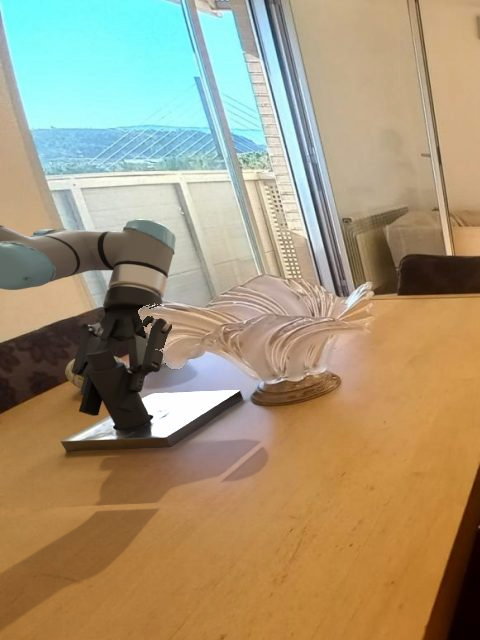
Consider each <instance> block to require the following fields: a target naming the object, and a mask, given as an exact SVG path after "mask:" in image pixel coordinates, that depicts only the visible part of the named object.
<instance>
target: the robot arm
mask: <svg viewBox="0 0 480 640" xmlns="http://www.w3.org/2000/svg"><path fill="white" fill-rule="evenodd" d="M175 247H176V234H174V232H173V231H172V230H171V229H170V228H169V227H168V226H166V225H164V224H162V223H160V222H157V221H154V220H150V219H144V218H136V219H133V220H129V221H127V222H126V223H125V225H124V226H123V228H122V231H118V230H117V231H116V230H112V231H111V230H110V231H109V230H107V231H105V230H104V231H103V230H101V231H100V230H82V229H80V230H79V229H67V228H55V229H52V228H51V229H47V228H46V229H38V230H35V231H33V232H32V235H30V236H28V235H24V234H22V233H20V232H17V231H16V230H13V229H11V228H8V227H6V226H4V225H3V224H2V225H1V224H0V289H1V290H7V291H19V290H25V289H30V288H31V289H32V288H37V287H38V288H39V287H41V286H45V285H46V284H49V283H52V282H54V281H58V280H61V279H65V278H69V277H73V276H76V275H80V274H83V273H86V272H90V271H91V272H92V271H112V272H111V275H110V279H109V281H108V284H107V288H108V289H107V290H106V293H105V297H104V300H103V304H102V307H103V310H104V314H103V316H102V317H100V319H99V322H97V323H94V324H91V325H90V324H88V323H82V324H81V325H80V327H79V329H80V334H81V335H80V336H81V337H80V340H79V344H78V347H77V350H76V354H75V356H74V357H75V358H74V359H75V361H74V364H73V368H72V373H73V374H76V375H79V376H82V377H84V381H83V384H82V388H80V392H79V393H80V395H81V396H82V398H81V402H80V406H79V410H78V412H79V413H83V414H86V415H89V416H93V417H94V416H95V417H97V416H99V414H100V412H101V411H100V410H101V406H102V403H103V401H102V399H101V397H100V395H99V393H98V391H97V390H96V388H95V386H94V384H93V382H92V380H91V378H90V376H89V374H88V372H87V371H88V370H90V369H91V368H92V366H91V364H90V362H89V360H88V358H87V356H86V353H88V352H90V351H94V350H98V349H104V348H109V349H111V352H112V354H113V356H115V357H116V354H117V353H118V351H119V349H120V348H121V347H123V346H124V345H125V343H126V341H127V344H128V345H127V347H128V366H129V368H126V369H127V370H128V371H131V372H132V373H129V372H126V373H123V377H122V381H121V385H120V389H119V393H118V397H117V401H116V405H115V408H116V409H120V410H123V411H126V412H133V410H134V405H135V401H136V397H137V392H138V393H141V392H142V391H143V388H144V383H145V379H146V376H148V375H149V374H150V373H158V372H160V370H161V368H162V364H161V363H162V359H163V353H162V352H161V351H159V350H160V349H162V348H164V345H165V342H166V339H167V337H168V334H169V332H170V331H171V329H172V324H171V323H169V322H168V321H166V320H164V319H162V318H159V319H154V318H153V316H151V317H150V316H147V317H146V318H145V319H144V320H143V323H142V320H141V319H140V316H139V314H138V310H139V309H140V308H142V307H143V306H146V305H149V304H150V305H149V306H152V305H154V303H155V304H156V305H155V306H153V307H150V308H149V309H151V308H154V307H157V306H161V305H160V304H162V305H163V298H164V295H165V292H166V287H167V282H168V278H169V273H170V268H171V266H172V265H171V264H172V262H173V257H174V255H175V253H176V252H175V249H176V248H175ZM157 304H158V305H157ZM146 307H148V306H146ZM149 323H152V324H151V326H152V328H151V330H150V334H149V338H148V334H147V333H145V331H144V327H143V326H145V327H147V325H148V324H149ZM155 349H158V350H155ZM162 351H163V350H162Z"/></svg>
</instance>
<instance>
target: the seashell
mask: <svg viewBox="0 0 480 640" xmlns="http://www.w3.org/2000/svg"><path fill="white" fill-rule="evenodd" d="M114 358H115V360H116V362H123V363H124V364H125V366H126V368H129V364H127V363H126V362H125V361H124V360H123V359H121V357H119V356H116V355H115V356H114ZM74 361H75V358H73V359H72V360H70V361H69V362H68V363H67V365H66V367H65V372H64V373H65V376H66V378H67V380H68V381H69V383H71V384H72V385H74V386H75V387H76V388H79V389H81V388H82V384H83V381H84V377H82V376H79V375H76V374H73V373H72V368H73V364H74ZM128 372H129V373H132V372H131V371H128Z"/></svg>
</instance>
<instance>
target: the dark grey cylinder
mask: <svg viewBox="0 0 480 640" xmlns="http://www.w3.org/2000/svg"><path fill="white" fill-rule="evenodd" d="M86 356H87V358H88V360H89V362H90V364H91V366H92V368H91V369H90V370H88V371H87V372H88V374H89V376H90V378H91V380H92V382H93V384H94V386H95V388H96V390H97V391H98V393H99V395H100V397H101V399H102V403H103V405H104V407H105V409H106V411H107V412H108V414H109V416H111V418H112V420H113V422H114V424H115V426H116V428H117V430H123V429H129V428H133V427H136V426H140V425H142V424H145V423H147V422H148V421H150V420H151V418H150V416H149V414H148V411H147V409H146V407H145V405H144V403H143V401H142V399H143V398H142V397H141V395H140V392H137V397H136V401H135V405H134V410H133V412H126V411H123V410H120V409H116V408H115V405H116V401H117V397H118V393H119V389H120V385H121V381H122V377H123V373H126V372H128V370H127V369H126V366H125V364H124V363H123V362H116V360H115V358H114V356H113V354H112V352H111V349H109V348H104V349H98V350H94V351H90V352H88V353H86Z"/></svg>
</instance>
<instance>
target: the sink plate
mask: <svg viewBox="0 0 480 640" xmlns="http://www.w3.org/2000/svg"><path fill="white" fill-rule="evenodd" d="M141 399H142V401H143V403H144V405H145V407H146V409H147V411H148V414H149V416H150V418H151V420H150V421H148V422H147V423H145V424H142V425H140V426H136V427H133V428H129V429H123V430H117V428H116V426H115V424H114V422H113V420H112V418H111V416H110V415H108V416H107V417H105V418H103V419H101V420H99V421H96V422H95V423H93V424H91V425H89V426H87V427H85V428H83V429H82V430H80V431H78V432H76V433H74V434H72V435H70V436H68V437H66V438H64V439H63V440H60V443H61V445H62V447H63V448H64V450H65V451H66V452H73V451H74V452H76V451H77V452H79V451H100V450H101V451H102V450H125V449H126V450H127V449H149V448H171V447H173V446H174V445H176V444H177V443H179V442H180V441H182V440H183V439H185V438H186V437H187V436H189V435H190V434H192V433H194V432H195V431H197V430H198V429H200V428H201V427H203V426H204V425H206V424H208V423H209V422H210V421H212V420H213V419H215V418H216V417H218V416H220V415H221V414H222V413H224V412H226V411H227V410H229V409H230V408H231V407H233V406H234V405H236V404H237V403H239V402H240V401H242V400H243V399H244V396H243V393H242V392H241V390H239V389H235V390H212V391H211V390H210V391H209V390H208V391H187V392H186V391H184V392H159V393H151V394H148V395H147V396H145V397H143V398H141Z"/></svg>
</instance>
